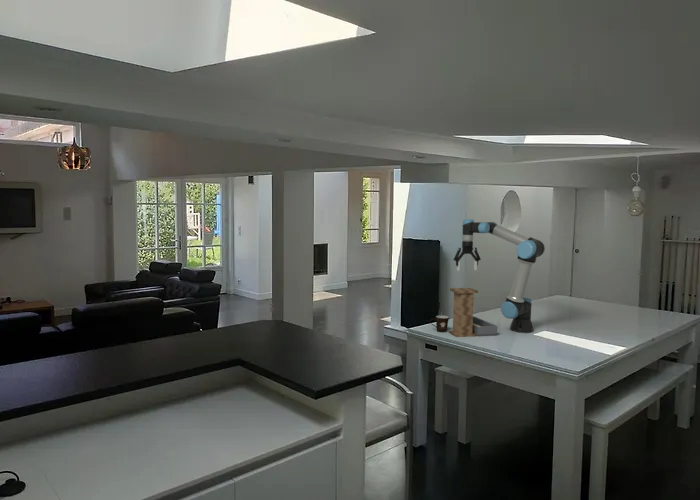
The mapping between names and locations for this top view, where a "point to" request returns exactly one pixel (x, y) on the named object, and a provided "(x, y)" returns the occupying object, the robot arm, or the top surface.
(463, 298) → the stand
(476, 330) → the tray
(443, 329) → the coffee mug
